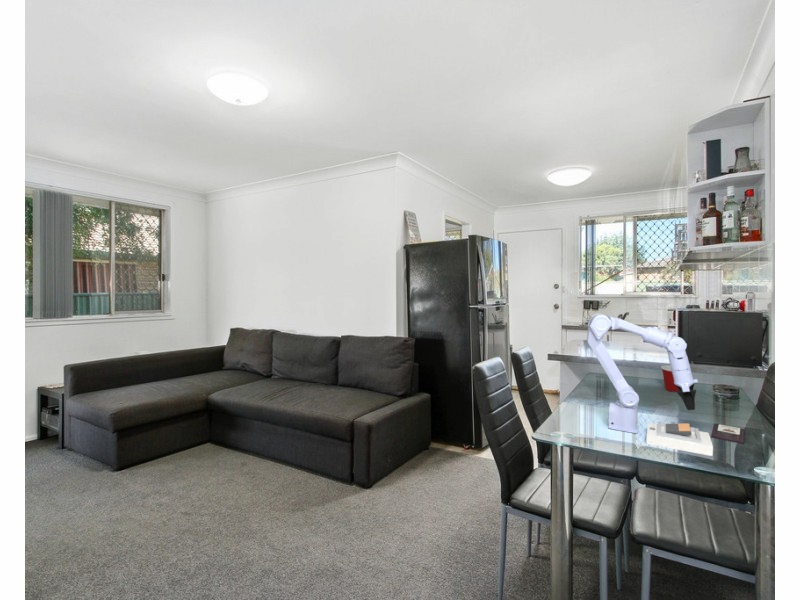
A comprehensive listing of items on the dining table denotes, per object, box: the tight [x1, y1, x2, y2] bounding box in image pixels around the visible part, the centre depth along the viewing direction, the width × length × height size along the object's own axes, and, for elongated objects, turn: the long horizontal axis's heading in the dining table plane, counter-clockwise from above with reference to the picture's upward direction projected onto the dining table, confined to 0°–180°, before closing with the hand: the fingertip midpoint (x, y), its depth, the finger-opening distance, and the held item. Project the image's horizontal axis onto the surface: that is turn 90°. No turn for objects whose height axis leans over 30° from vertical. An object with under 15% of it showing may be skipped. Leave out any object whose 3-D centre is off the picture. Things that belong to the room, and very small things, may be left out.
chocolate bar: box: [710, 423, 746, 445], centre depth 152 cm, size 9×1×18 cm
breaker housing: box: [645, 421, 714, 457], centre depth 143 cm, size 18×15×4 cm
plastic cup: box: [660, 364, 679, 393], centre depth 214 cm, size 11×11×12 cm
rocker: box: [666, 422, 692, 436], centre depth 143 cm, size 7×9×2 cm
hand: (690, 406), depth 149 cm, fingers open, 7 cm apart
